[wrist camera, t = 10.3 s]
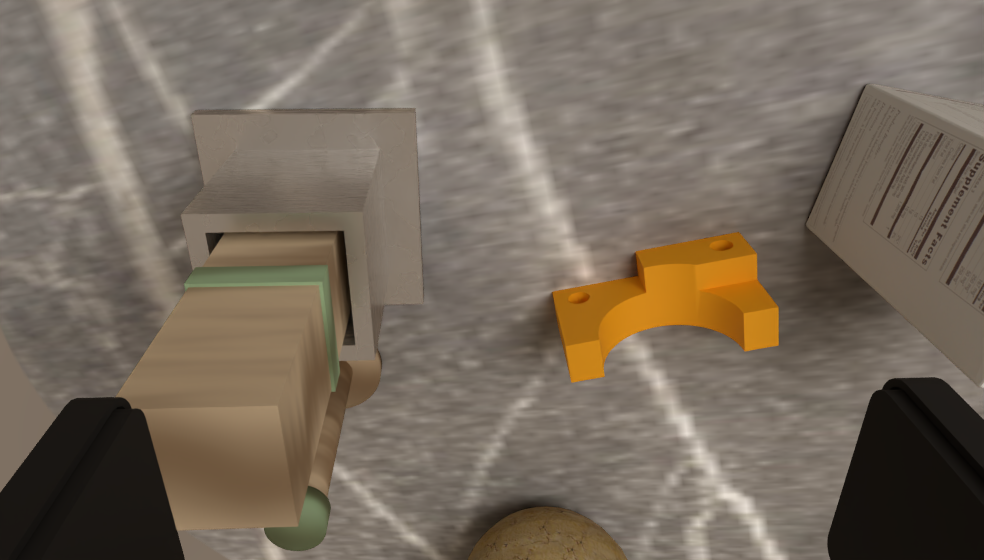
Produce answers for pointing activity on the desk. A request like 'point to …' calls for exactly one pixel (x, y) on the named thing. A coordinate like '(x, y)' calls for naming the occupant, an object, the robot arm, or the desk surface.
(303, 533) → the marker post
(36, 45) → the desk surface
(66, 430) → the robot arm
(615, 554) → the fossilized egg
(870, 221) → the supplement box
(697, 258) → the pipe clamp
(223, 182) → the sleeve
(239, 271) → the column
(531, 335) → the desk surface
